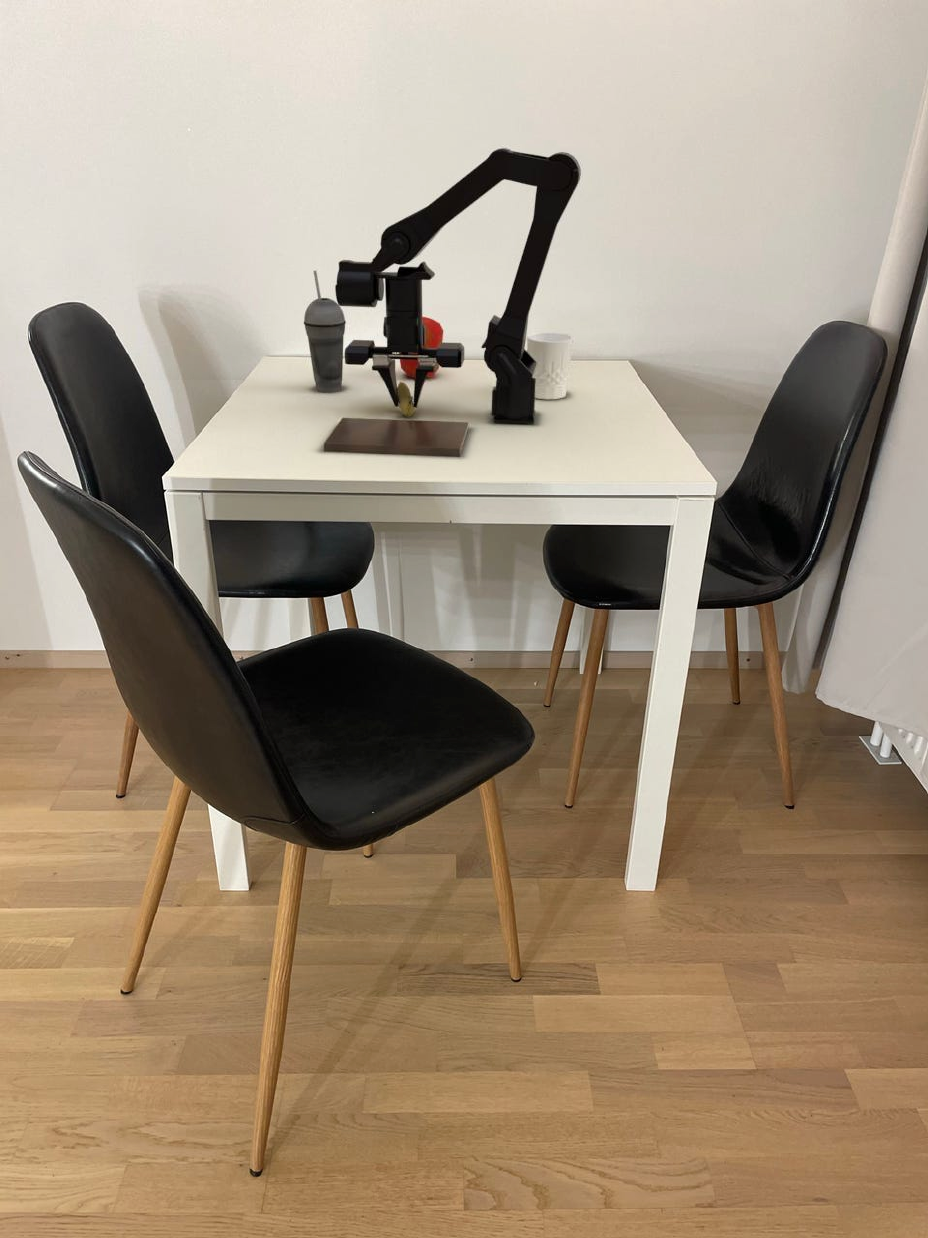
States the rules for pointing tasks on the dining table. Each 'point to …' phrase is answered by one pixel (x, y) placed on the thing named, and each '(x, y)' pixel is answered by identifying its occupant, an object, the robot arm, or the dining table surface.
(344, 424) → the walnut board
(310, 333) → the beverage cup
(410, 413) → the banana
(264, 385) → the dining table surface
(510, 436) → the dining table surface
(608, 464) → the dining table surface
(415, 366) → the apple
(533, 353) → the white cup
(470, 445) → the dining table surface
